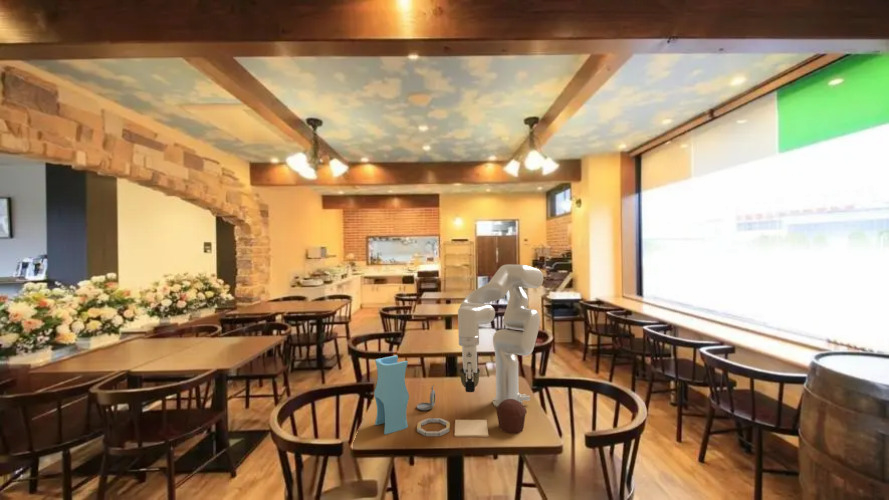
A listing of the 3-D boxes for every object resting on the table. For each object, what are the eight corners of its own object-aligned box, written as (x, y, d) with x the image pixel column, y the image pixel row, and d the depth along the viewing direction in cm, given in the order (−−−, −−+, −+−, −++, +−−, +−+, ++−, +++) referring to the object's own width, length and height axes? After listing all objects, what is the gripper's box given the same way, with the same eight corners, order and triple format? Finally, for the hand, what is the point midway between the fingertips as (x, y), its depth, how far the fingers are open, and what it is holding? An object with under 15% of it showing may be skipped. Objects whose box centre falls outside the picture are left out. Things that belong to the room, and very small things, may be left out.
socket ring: (450, 421, 152) (450, 418, 151) (449, 436, 140) (449, 433, 140) (419, 421, 152) (419, 418, 152) (415, 436, 140) (415, 432, 140)
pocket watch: (414, 406, 166) (414, 383, 166) (433, 403, 169) (432, 380, 169) (421, 414, 159) (420, 389, 158) (440, 410, 162) (439, 386, 162)
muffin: (529, 435, 139) (529, 407, 139) (498, 435, 140) (498, 407, 139) (523, 420, 151) (523, 394, 151) (494, 420, 151) (494, 395, 151)
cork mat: (486, 421, 151) (486, 419, 151) (488, 436, 139) (488, 435, 139) (455, 421, 151) (455, 419, 151) (454, 436, 139) (454, 434, 139)
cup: (483, 389, 146) (483, 368, 146) (474, 396, 140) (473, 374, 140) (466, 386, 150) (465, 365, 150) (456, 392, 144) (455, 371, 144)
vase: (409, 427, 147) (408, 361, 147) (385, 434, 142) (383, 366, 141) (398, 417, 155) (396, 355, 155) (374, 424, 150) (373, 359, 150)
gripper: (479, 346, 136) (480, 397, 136) (478, 334, 153) (479, 379, 154) (458, 346, 136) (459, 397, 137) (459, 334, 154) (460, 379, 154)
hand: (470, 387), depth 145 cm, fingers closed on cup, 6 cm apart
